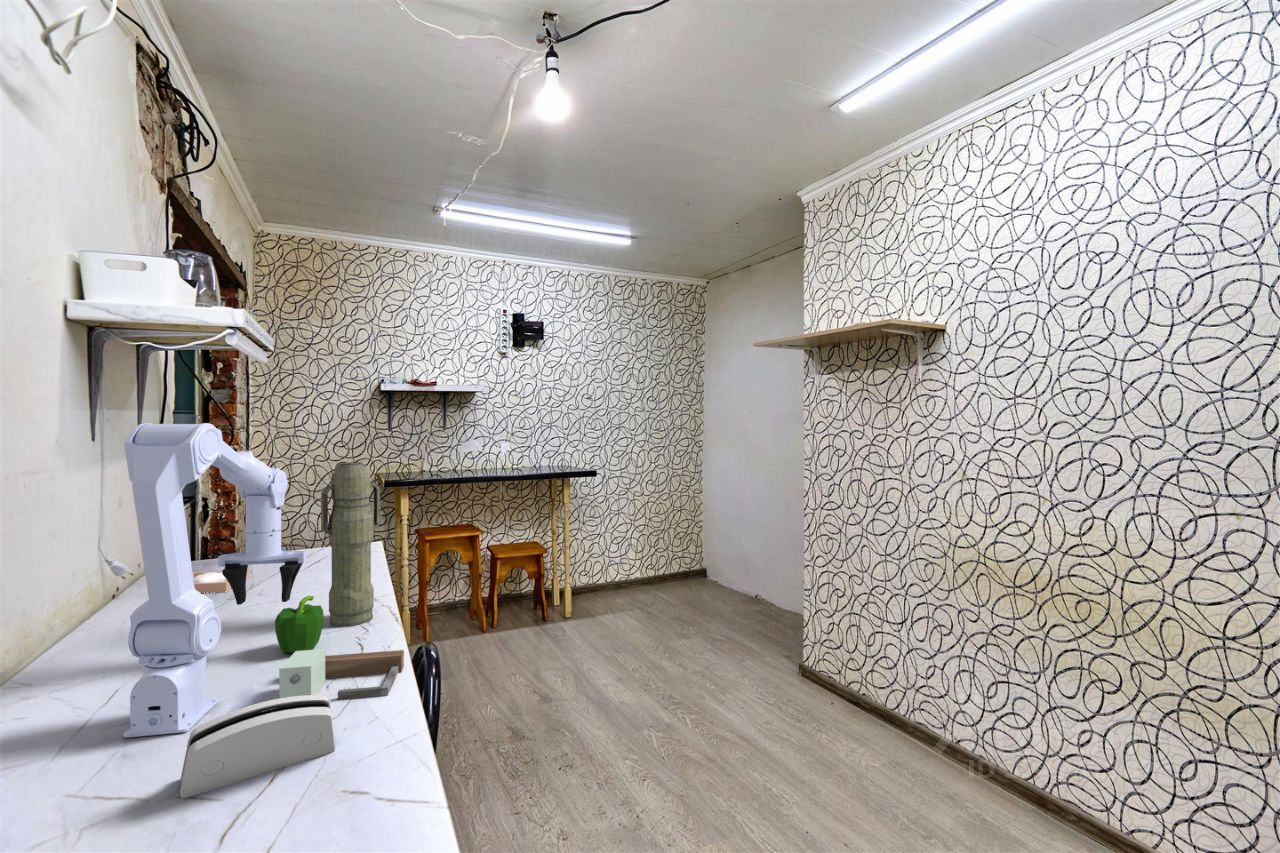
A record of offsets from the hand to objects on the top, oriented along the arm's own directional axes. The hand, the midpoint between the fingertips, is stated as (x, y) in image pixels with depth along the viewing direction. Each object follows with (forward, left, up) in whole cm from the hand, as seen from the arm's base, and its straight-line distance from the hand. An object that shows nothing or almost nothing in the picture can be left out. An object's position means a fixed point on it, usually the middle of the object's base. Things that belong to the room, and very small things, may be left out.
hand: (263, 601), depth 111 cm
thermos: (+16, -11, -10) cm, 22 cm away
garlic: (+52, +32, -10) cm, 62 cm away
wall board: (-17, -18, -10) cm, 27 cm away
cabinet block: (-20, -13, -10) cm, 26 cm away
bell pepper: (0, -6, -10) cm, 12 cm away
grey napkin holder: (-41, -15, -10) cm, 45 cm away
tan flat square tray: (+51, +33, -10) cm, 62 cm away
